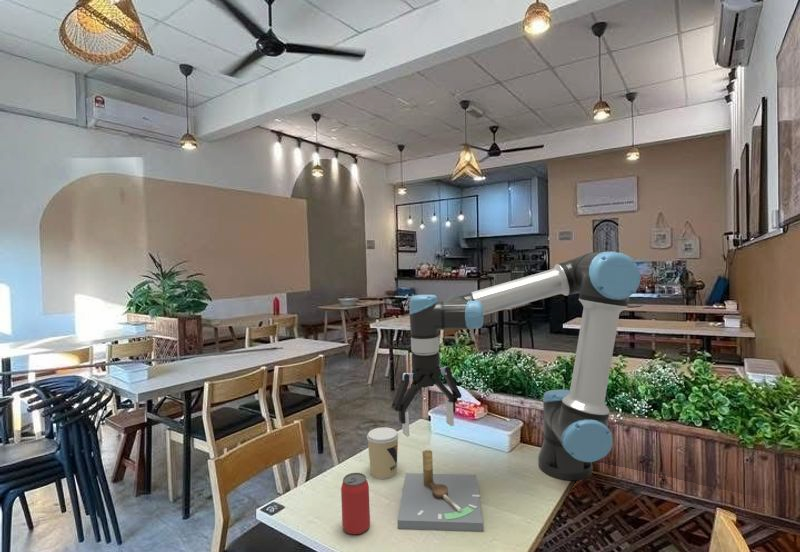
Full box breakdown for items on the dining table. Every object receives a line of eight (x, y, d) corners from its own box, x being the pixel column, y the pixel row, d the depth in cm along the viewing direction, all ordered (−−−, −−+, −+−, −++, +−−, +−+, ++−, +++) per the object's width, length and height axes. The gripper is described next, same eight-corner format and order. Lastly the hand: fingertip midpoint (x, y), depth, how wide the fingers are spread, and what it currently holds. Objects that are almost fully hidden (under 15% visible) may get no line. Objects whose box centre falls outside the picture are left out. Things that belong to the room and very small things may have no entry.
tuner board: (476, 481, 120) (476, 473, 120) (484, 531, 98) (484, 522, 98) (405, 479, 122) (405, 472, 122) (397, 528, 100) (397, 519, 100)
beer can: (337, 527, 102) (335, 478, 101) (358, 515, 106) (356, 468, 106) (354, 540, 97) (352, 488, 96) (375, 526, 101) (374, 477, 101)
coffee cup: (395, 481, 121) (394, 440, 121) (364, 479, 123) (363, 438, 123) (402, 465, 131) (400, 427, 130) (372, 463, 133) (371, 426, 132)
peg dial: (466, 509, 103) (465, 475, 103) (453, 514, 101) (452, 479, 101) (432, 479, 118) (431, 448, 117) (419, 483, 116) (418, 452, 116)
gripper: (457, 344, 123) (460, 416, 124) (377, 355, 113) (380, 433, 113) (472, 348, 116) (474, 424, 117) (388, 361, 106) (391, 444, 107)
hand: (428, 429), depth 115 cm, fingers open, 13 cm apart
